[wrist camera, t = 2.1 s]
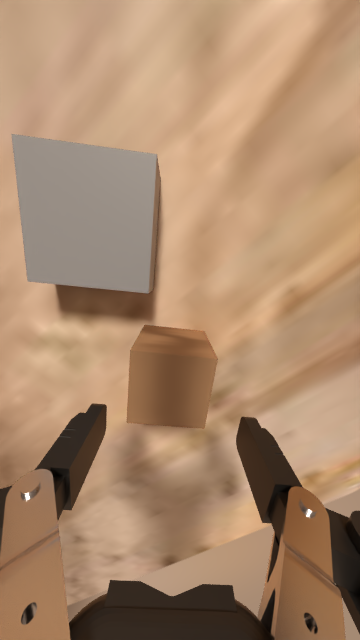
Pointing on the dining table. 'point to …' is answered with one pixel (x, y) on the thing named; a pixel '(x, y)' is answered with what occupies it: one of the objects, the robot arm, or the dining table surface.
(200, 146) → the dining table surface
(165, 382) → the walnut cube
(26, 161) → the slate block
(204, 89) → the dining table surface
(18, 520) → the robot arm
